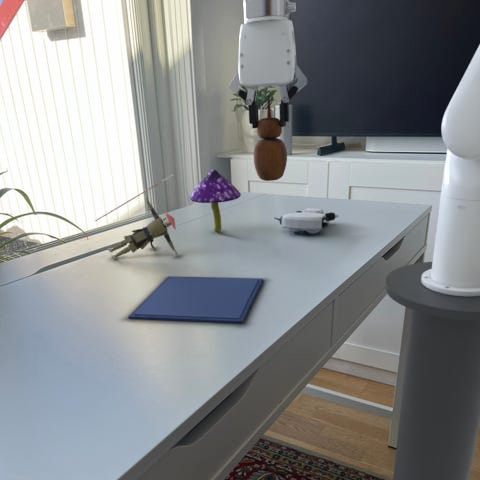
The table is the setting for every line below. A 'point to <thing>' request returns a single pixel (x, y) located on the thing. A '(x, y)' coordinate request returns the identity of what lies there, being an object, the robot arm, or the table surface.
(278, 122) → the wooden figurine
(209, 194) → the decorative mushroom
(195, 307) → the blue square tray
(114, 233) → the table surface
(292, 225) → the robot toy
